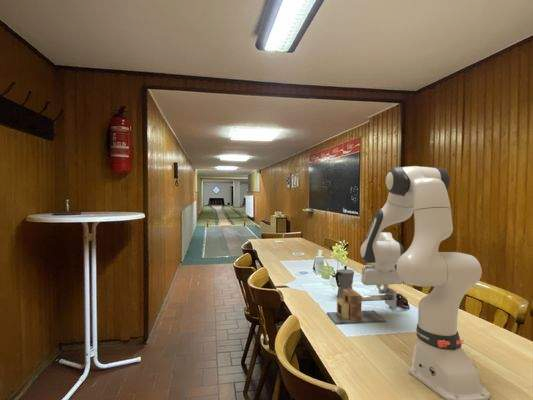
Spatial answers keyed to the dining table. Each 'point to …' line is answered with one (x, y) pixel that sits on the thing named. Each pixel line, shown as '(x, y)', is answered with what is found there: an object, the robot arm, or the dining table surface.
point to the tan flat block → (342, 309)
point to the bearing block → (355, 310)
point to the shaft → (384, 298)
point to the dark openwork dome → (401, 301)
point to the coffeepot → (344, 280)
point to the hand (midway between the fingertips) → (382, 293)
